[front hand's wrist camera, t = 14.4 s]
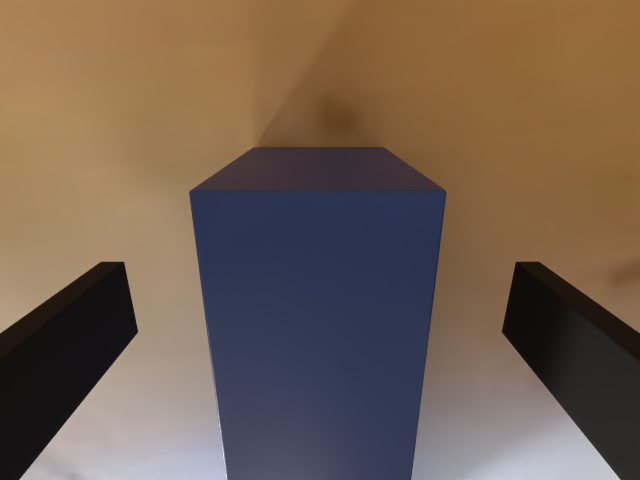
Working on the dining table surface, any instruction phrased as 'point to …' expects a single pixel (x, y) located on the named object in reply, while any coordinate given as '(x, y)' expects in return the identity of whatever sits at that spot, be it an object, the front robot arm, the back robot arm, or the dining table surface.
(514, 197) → the dining table surface
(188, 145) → the dining table surface
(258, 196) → the bar
